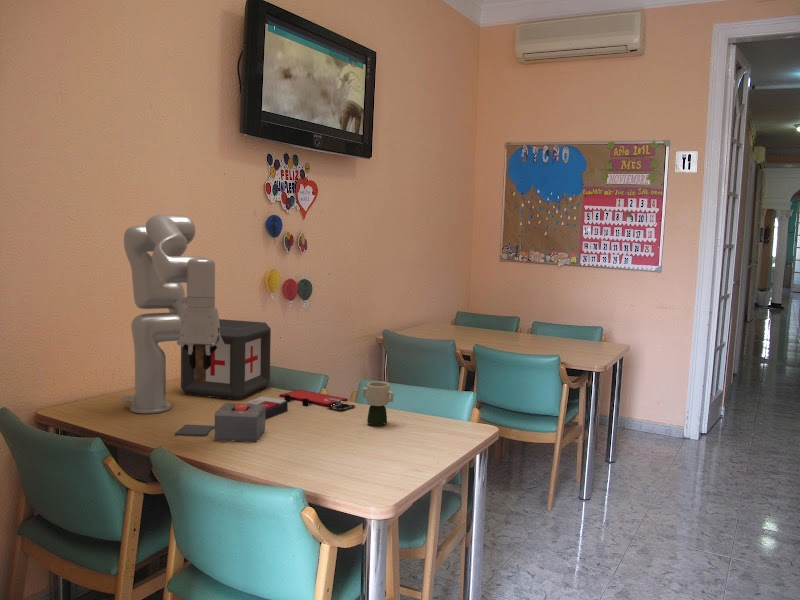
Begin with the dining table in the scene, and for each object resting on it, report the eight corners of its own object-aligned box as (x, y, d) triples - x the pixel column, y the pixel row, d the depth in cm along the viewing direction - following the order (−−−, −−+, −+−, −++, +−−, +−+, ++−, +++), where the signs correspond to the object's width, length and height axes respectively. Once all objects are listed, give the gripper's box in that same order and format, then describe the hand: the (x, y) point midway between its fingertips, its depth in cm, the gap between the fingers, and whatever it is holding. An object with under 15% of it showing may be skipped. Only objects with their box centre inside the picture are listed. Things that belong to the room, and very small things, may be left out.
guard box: (214, 440, 193) (214, 412, 193) (225, 429, 204) (225, 403, 204) (256, 441, 193) (256, 414, 192) (265, 430, 204) (265, 404, 203)
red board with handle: (337, 413, 226) (364, 406, 239) (337, 405, 226) (364, 398, 238) (271, 400, 243) (300, 393, 255) (271, 392, 242) (300, 386, 255)
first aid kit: (214, 380, 267) (214, 317, 265) (272, 386, 261) (273, 322, 258) (177, 395, 243) (177, 325, 241) (240, 401, 237) (241, 330, 234)
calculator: (232, 406, 218) (261, 394, 231) (232, 419, 219) (261, 406, 232) (260, 411, 213) (288, 398, 227) (260, 424, 214) (288, 411, 227)
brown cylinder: (193, 381, 189) (193, 339, 188) (196, 379, 192) (197, 337, 191) (203, 382, 189) (204, 339, 188) (207, 379, 192) (207, 337, 191)
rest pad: (174, 435, 197) (174, 433, 197) (185, 426, 206) (185, 424, 206) (205, 436, 197) (205, 434, 196) (214, 427, 205) (214, 425, 205)
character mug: (397, 424, 216) (398, 384, 214) (387, 429, 209) (388, 388, 208) (367, 419, 220) (368, 379, 219) (356, 424, 214) (357, 383, 213)
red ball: (233, 416, 197) (233, 406, 196) (236, 413, 200) (236, 403, 200) (245, 417, 196) (245, 406, 196) (248, 413, 200) (248, 403, 200)
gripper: (166, 303, 185) (166, 369, 187) (226, 305, 184) (225, 372, 186) (176, 300, 192) (176, 364, 194) (233, 302, 192) (233, 366, 194)
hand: (200, 367), depth 190 cm, fingers closed on brown cylinder, 3 cm apart
